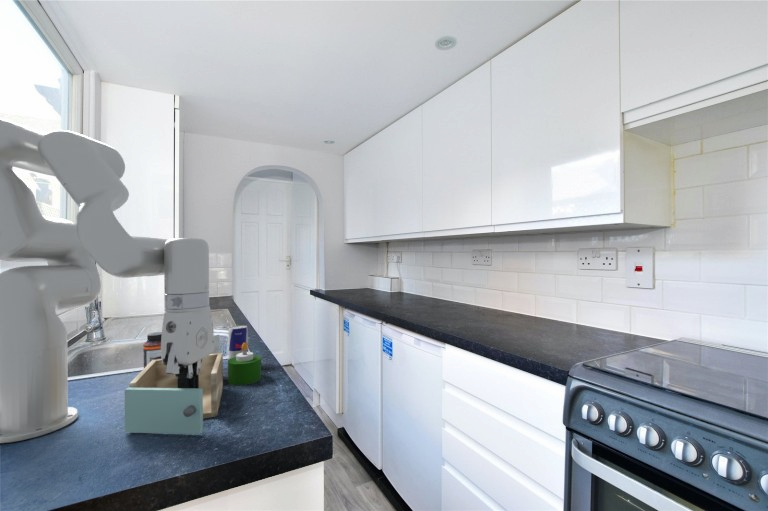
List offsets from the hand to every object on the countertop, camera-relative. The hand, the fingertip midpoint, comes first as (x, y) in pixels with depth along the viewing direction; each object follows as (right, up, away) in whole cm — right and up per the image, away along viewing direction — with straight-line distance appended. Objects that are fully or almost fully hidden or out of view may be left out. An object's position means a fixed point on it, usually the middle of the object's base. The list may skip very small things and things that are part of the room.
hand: (188, 396), depth 66 cm
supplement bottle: (-28, -7, +32) cm, 43 cm away
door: (-3, -6, -3) cm, 7 cm away
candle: (0, -6, +26) cm, 27 cm away
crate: (-7, -6, +9) cm, 13 cm away
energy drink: (-6, -7, +36) cm, 37 cm away
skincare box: (-10, -7, +26) cm, 29 cm away
